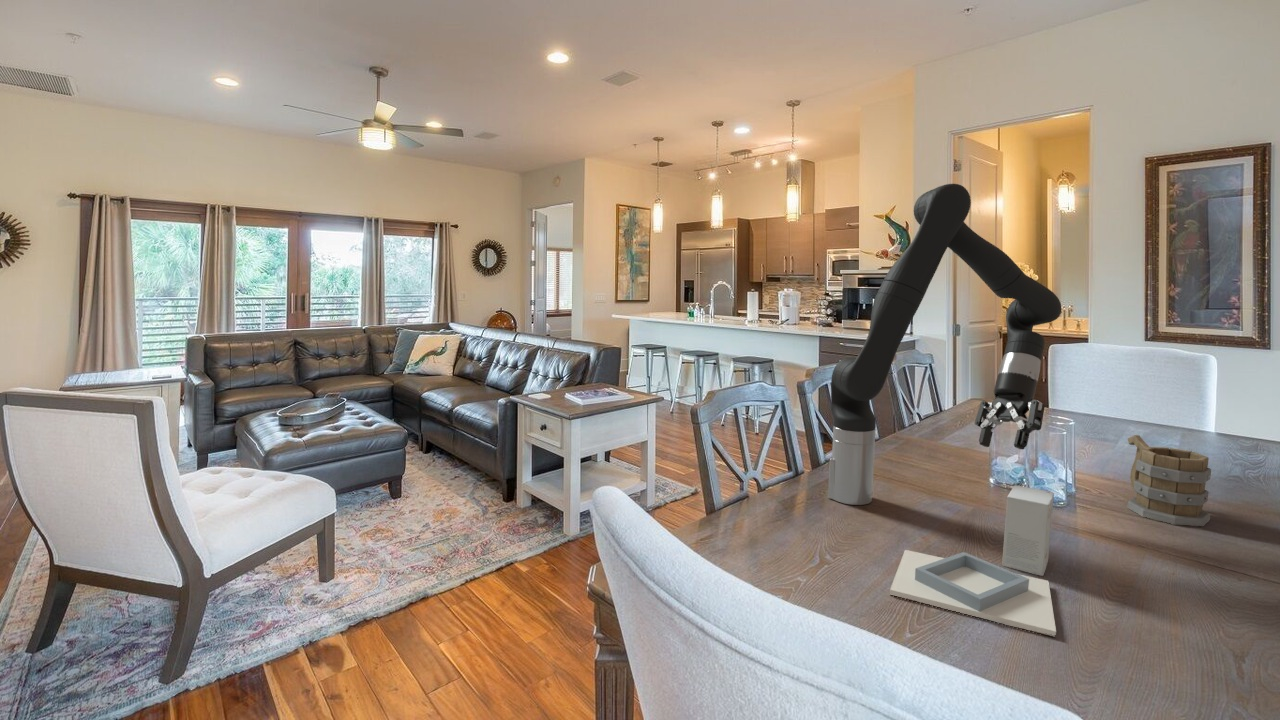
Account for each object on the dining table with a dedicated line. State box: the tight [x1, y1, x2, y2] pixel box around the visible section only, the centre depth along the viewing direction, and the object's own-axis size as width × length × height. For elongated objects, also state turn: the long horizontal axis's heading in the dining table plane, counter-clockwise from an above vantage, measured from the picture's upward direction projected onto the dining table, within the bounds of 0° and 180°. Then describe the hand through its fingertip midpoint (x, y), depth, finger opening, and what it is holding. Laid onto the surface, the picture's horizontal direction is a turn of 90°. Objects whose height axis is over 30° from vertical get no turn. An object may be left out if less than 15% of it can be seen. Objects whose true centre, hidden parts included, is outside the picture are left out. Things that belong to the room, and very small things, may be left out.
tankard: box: [1126, 434, 1212, 527], centre depth 131 cm, size 20×13×15 cm, turn 170°
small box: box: [1001, 484, 1055, 577], centre depth 105 cm, size 8×6×13 cm
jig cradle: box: [889, 549, 1057, 636], centre depth 96 cm, size 22×17×3 cm
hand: (1000, 447), depth 126 cm, fingers open, 8 cm apart
